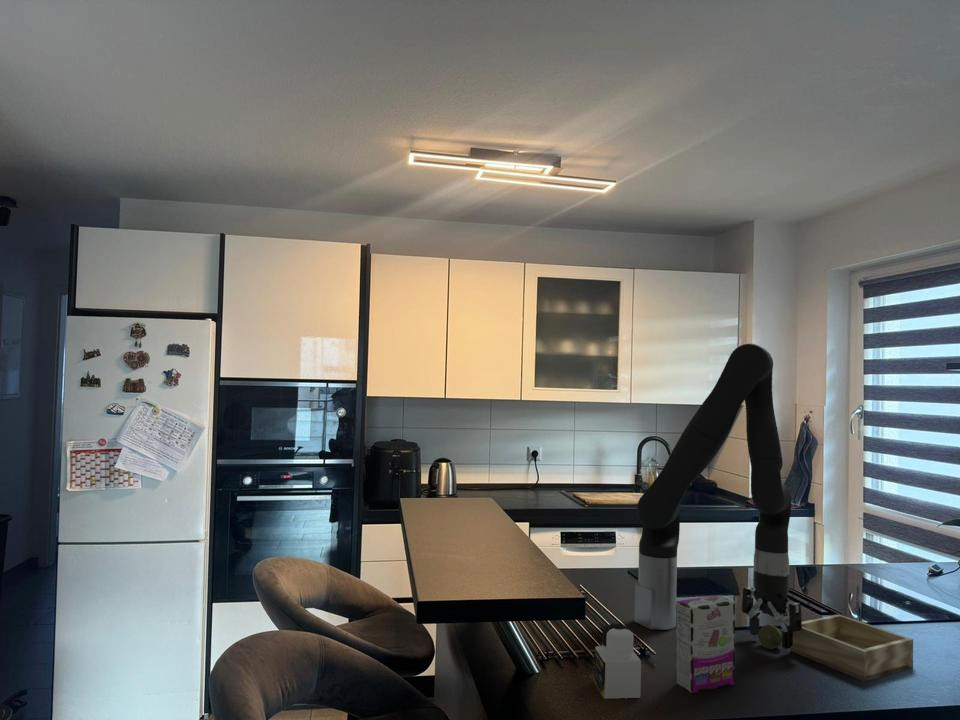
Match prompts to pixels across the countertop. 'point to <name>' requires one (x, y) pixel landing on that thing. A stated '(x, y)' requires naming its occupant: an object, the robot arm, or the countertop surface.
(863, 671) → the crate
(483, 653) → the countertop surface
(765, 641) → the lime
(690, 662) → the candy bar box
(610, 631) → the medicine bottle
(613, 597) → the countertop surface
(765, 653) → the countertop surface
